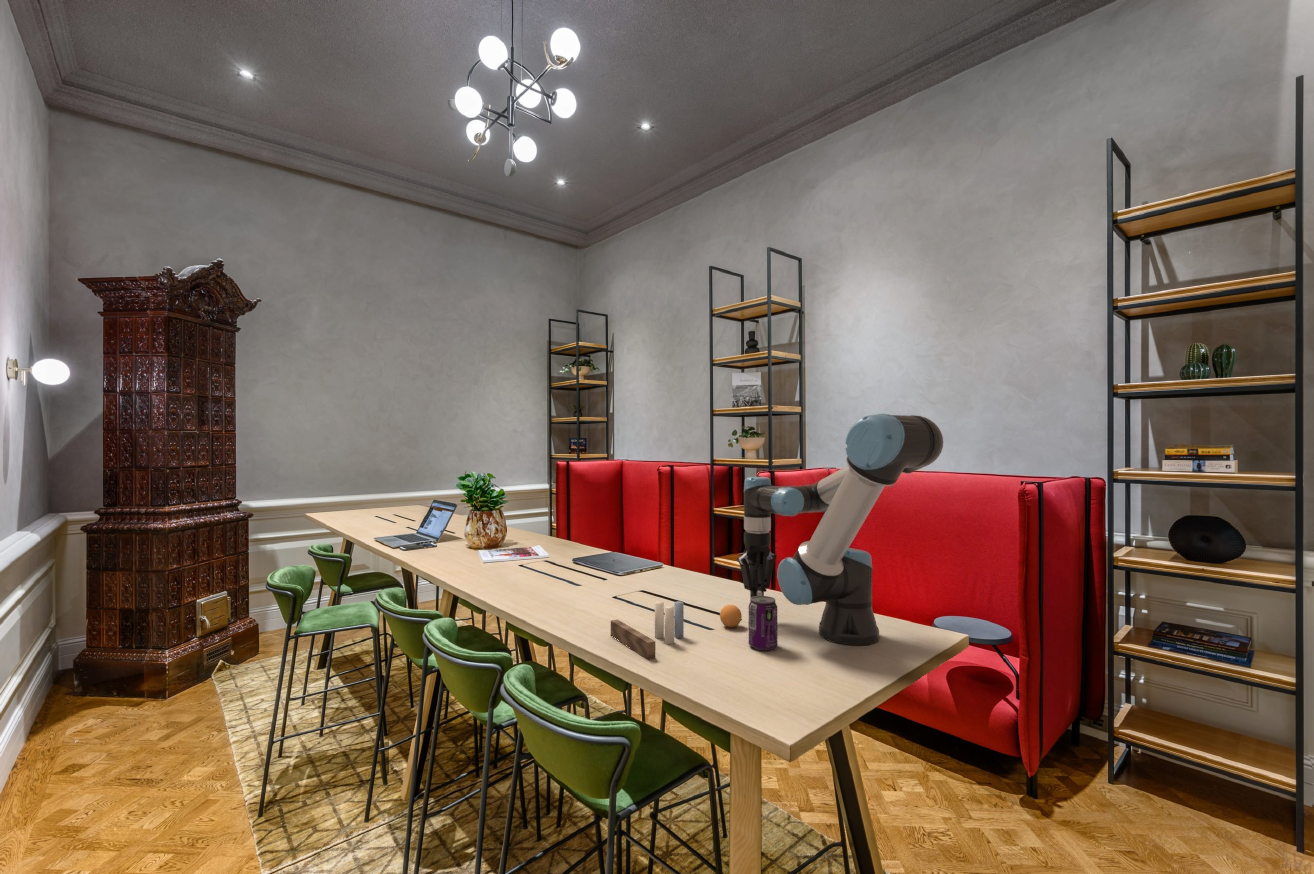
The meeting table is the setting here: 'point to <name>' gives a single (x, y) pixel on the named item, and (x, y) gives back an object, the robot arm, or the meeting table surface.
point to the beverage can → (763, 623)
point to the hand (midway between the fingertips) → (757, 613)
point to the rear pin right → (659, 620)
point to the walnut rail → (633, 639)
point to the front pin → (678, 619)
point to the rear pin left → (669, 625)
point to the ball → (730, 615)
